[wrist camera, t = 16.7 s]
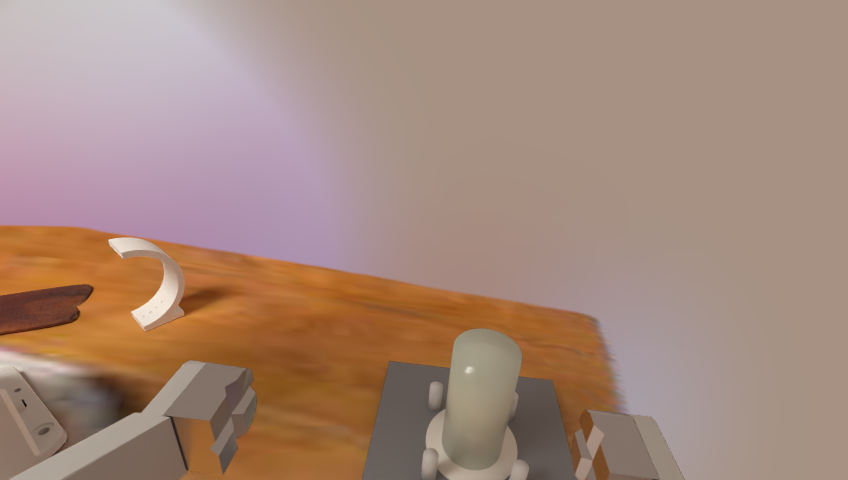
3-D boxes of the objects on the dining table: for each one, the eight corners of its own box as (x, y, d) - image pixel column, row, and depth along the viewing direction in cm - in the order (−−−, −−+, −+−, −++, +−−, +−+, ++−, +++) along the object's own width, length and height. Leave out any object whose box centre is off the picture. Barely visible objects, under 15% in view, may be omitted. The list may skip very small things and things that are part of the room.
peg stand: (348, 548, 34) (347, 516, 32) (389, 370, 51) (390, 342, 49) (595, 583, 33) (611, 553, 31) (549, 389, 50) (557, 361, 48)
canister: (429, 439, 41) (439, 348, 36) (467, 407, 45) (482, 320, 39) (475, 483, 37) (494, 389, 32) (513, 444, 41) (535, 353, 36)
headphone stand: (132, 316, 57) (108, 239, 51) (178, 298, 61) (160, 226, 56) (145, 331, 54) (121, 252, 49) (192, 312, 59) (175, 237, 53)
